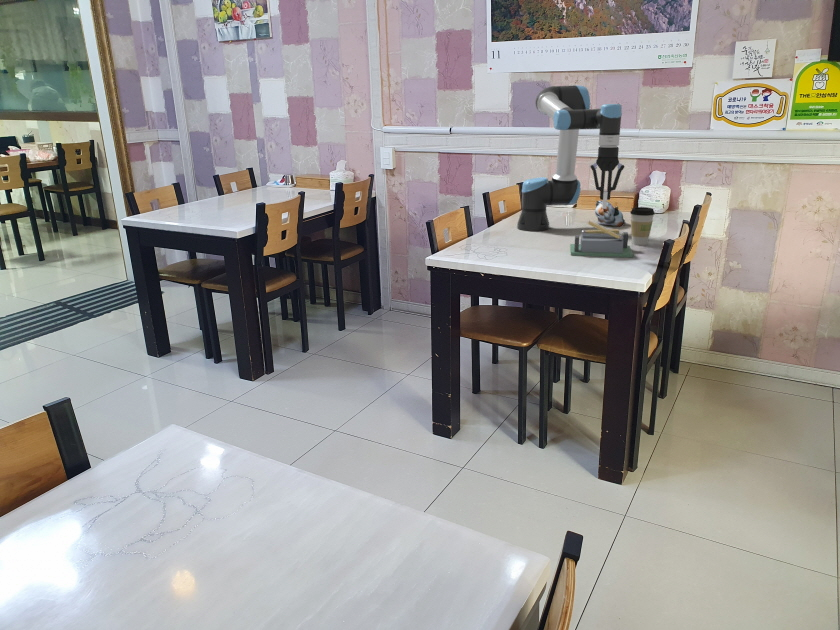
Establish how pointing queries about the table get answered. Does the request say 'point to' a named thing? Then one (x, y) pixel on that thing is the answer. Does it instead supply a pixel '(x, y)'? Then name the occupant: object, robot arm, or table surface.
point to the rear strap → (599, 231)
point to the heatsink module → (601, 245)
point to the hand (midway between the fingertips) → (604, 208)
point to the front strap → (606, 230)
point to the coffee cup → (641, 224)
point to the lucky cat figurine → (609, 215)
